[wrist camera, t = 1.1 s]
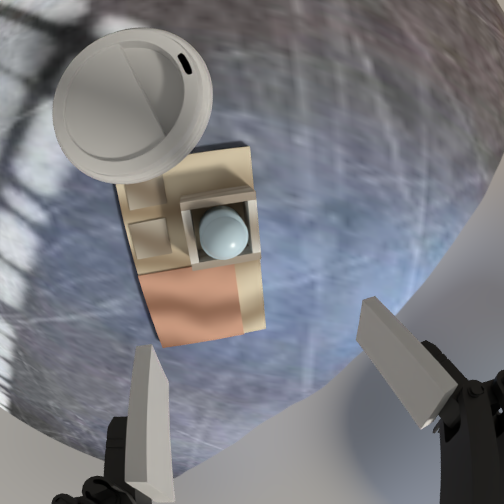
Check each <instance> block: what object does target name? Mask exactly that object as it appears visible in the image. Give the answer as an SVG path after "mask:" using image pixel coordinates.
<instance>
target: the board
mask: <svg viewBox="0 0 504 504" xmlns="http://www.w3.org/2000/svg"><path fill="white" fill-rule="evenodd" d="M116 187H117V192H118V197H119V202H120V207H121V211H122V216H123V220H124V224H125V228H126V232H127V236H128V240H129V244H130V248H131V252H132V255H133V259H134V262H135V266H136V269H137V273H138V278H139V281H140V284H141V287H142V291H143V294H144V297H145V300H146V303H147V306H148V309H149V312H150V315H151V317H152V320H153V323H154V326H155V329H156V331H157V334H158V337H159V339H160V342H161V344H162V347H163V348H165V347H172V346H179V345H185V344H192V343H198V342H204V341H210V340H215V339H221V338H226V337H232V336H237V335H242V334H244V333H247V332H252V331H257V330H261V329H266V325H265V313H264V301H263V289H262V277H261V266H260V259H261V249H260V237H259V226H258V214H257V203H256V192H255V190H254V187H253V176H252V165H251V154H250V147H249V146H246V147H237V148H228V149H221V150H213V151H206V152H199V153H193V154H188V155H187V156H186V157H185V158H184V159H183V160H182V161H181V162H180V163H179V164H177V165H176V166H175V167H173V168H172V169H171V170H169V171H167V172H166V173H164V174H162V175H160V176H158V177H156V178H153V179H150V180H147V181H144V182H140V183H134V184H116ZM215 206H227V207H230V208H232V209H234V210H235V211H236V212H237V213H238V214H239V215H240V217H241V219H242V220H243V222H244V224H245V225H246V227H247V230H248V242H247V245H246V247H245V248H244V250H243V251H242V252H241V253H240V254H239V255H237V256H236V257H234V258H231V259H226V260H220V259H215V258H213V257H211V256H209V255H208V254H207V253H206V252H205V251H204V250H203V248H202V246H201V243H200V235H199V222H200V219H201V217H202V216H203V214H204V213H205V212H206V211H207V210H209V209H210V208H213V207H215Z"/></svg>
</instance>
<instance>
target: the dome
mask: <svg viewBox="0 0 504 504" xmlns="http://www.w3.org/2000/svg"><path fill="white" fill-rule="evenodd" d="M199 235H200V243H201V246H202V248H203V250H204V251H205V252H206V253H207V254H208V255H209V256H211V257H213V258H215V259H220V260H226V259H231V258H234V257H236V256H237V255H239V254H240V253H241V252H242V251H243V250H244V248H245V247H246V245H247V242H248V230H247V227H246V225H245V224H244V222H243V220H242V219H241V217H240V215H239V214H238V213H237V212H236V211H235V210H234V209H232V208H230V207H227V206H215V207H213V208H210V209H209V210H207V211H206V212H205V213H204V214H203V216H202V217H201V219H200V222H199Z"/></svg>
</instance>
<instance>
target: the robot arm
mask: <svg viewBox="0 0 504 504" xmlns="http://www.w3.org/2000/svg"><path fill="white" fill-rule="evenodd" d="M356 341H357V342H358V343H359V345H360V346H361V347H362V349H363V350H364V351H365V353H366V354H367V355H368V357H369V358H370V360H371V361H372V362H373V364H374V365H375V366H376V368H377V369H378V370H379V372H380V373H381V375H382V376H383V377H384V379H385V380H386V381H387V383H388V384H389V385H390V387H391V388H392V390H393V391H394V393H395V394H396V395H397V397H398V398H399V400H400V401H401V402H402V404H403V405H404V407H405V408H406V409H407V411H408V412H409V414H410V415H411V417H412V418H413V419H414V421H415V422H416V424H417V425H418V427H419V428H420V429H422V428H424V427H425V426H427V425H429V424H430V423H432V422H433V421H434V420H435V418H436V417H437V416H438V415H439V416H440V417H441V419H440V420H439V422H438V423H437V424H436V426H435V427H434V429H433V433H435V432H436V431H437V430H438V428H439V431H438V433H440V446H441V489H440V491H441V492H440V504H504V370H501V371H500V372H499V373H498V374H497V376H496V377H495V379H493V380H490V381H487V382H483V383H481V382H479V381H477V380H467V378H465V377H464V375H463V374H462V373H461V372H460V371H459V370H458V369H457V368H456V367H455V366H454V365H453V363H451V361H450V360H449V359H447V357H446V356H445V355H444V354H442V352H441V351H440V350H439V349H438V348H437V347H436V345H434V344H432V343H430V342H428V341H427V340H425V341H423V342H421V343H420V342H419V341H418V340H417V339H416V338H415V337H414V336H413V335H412V333H410V331H409V330H408V329H407V328H406V327H405V326H404V325H403V324H402V323H401V322H400V321H399V320H398V319H397V318H396V317H395V316H394V315H393V314H392V313H391V312H390V311H389V310H388V309H387V308H386V307H385V306H384V305H383V304H382V303H381V302H380V301H379V300H378V299H377V298H376V297H375V296H374V297H371V298H367V299H364V300H363V301H362V308H361V314H360V320H359V326H358V332H357V337H356ZM500 408H502V410H503V412H502V413H499V411H498V410H499V409H500ZM82 494H83V496H81V497H75V498H73V497H71V496H70V495H68V494H59V495H56V496H55V497H54V498H53V500H52V504H152V500H153V501H155V502H175V494H174V484H173V473H172V460H171V445H170V424H169V382H168V380H167V378H166V376H165V373H164V371H163V369H162V367H161V365H160V362H159V360H158V358H157V355H156V353H155V351H154V348H153V346H152V344H151V345H143V346H136V351H135V358H134V365H133V373H132V380H131V389H130V398H129V408H128V416H127V417H113V419H112V421H111V422H110V424H109V426H108V431H107V440H106V451H105V463H104V477H102V476H94V477H90V478H89V479H88V480H86V481H85V483H84V485H83V488H82ZM151 499H152V500H151Z"/></svg>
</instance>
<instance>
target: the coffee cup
mask: <svg viewBox="0 0 504 504" xmlns="http://www.w3.org/2000/svg"><path fill="white" fill-rule="evenodd" d="M212 101H213V89H212V82H211V78H210V74H209V71H208V69H207V66H206V64H205V62H204V61H203V59H202V57H201V56H200V55H199V53H198V52H197V51H196V50H195V49H194V48H193V47H192V46H191V45H190V44H189V43H187V42H186V41H185V40H183V39H182V38H180V37H178V36H177V35H174V34H172V33H170V32H167V31H164V30H160V29H155V28H131V29H125V30H121V31H117V32H114V33H111V34H109V35H106V36H104V37H102V38H100V39H98V40H96V41H95V42H93V43H91V44H90V45H89V46H87V47H86V48H85V49H83V50H82V51H81V52H80V53H79V54H78V55H77V56H76V57H75V58H74V59H73V60H72V62H71V63H70V64H69V66H68V67H67V69H66V70H65V72H64V73H63V75H62V77H61V79H60V81H59V84H58V86H57V89H56V92H55V96H54V101H53V125H54V130H55V134H56V137H57V140H58V143H59V145H60V147H61V149H62V151H63V152H64V154H65V155H66V157H67V158H68V159H69V161H70V162H71V163H72V164H73V165H74V166H75V167H76V168H77V169H79V170H80V171H81V172H83V173H84V174H86V175H88V176H90V177H92V178H94V179H97V180H100V181H103V182H107V183H112V184H134V183H140V182H144V181H147V180H150V179H153V178H156V177H158V176H160V175H162V174H164V173H166V172H167V171H169V170H171V169H172V168H173V167H175V166H176V165H177V164H179V163H180V162H181V161H182V160H183V159H184V158H185V157H186V156H187V155H188V154H189V153H190V152H191V151H192V150H193V148H194V147H195V146H196V144H197V143H198V141H199V140H200V138H201V136H202V135H203V133H204V131H205V128H206V126H207V124H208V121H209V118H210V114H211V109H212Z"/></svg>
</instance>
